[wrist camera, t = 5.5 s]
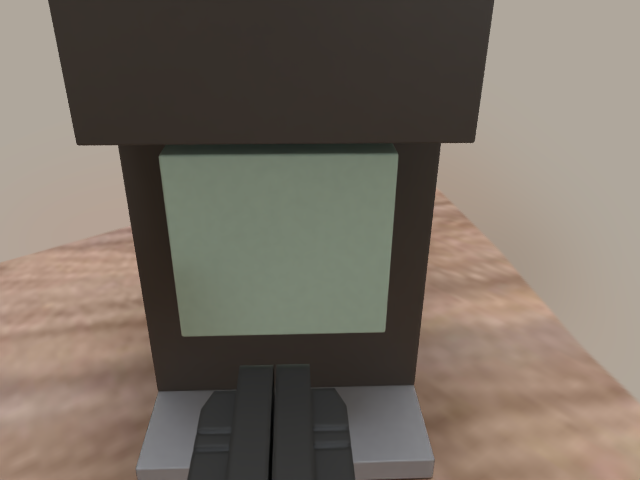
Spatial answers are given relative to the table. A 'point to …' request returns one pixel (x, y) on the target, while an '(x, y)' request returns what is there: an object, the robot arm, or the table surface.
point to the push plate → (280, 236)
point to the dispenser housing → (279, 128)
